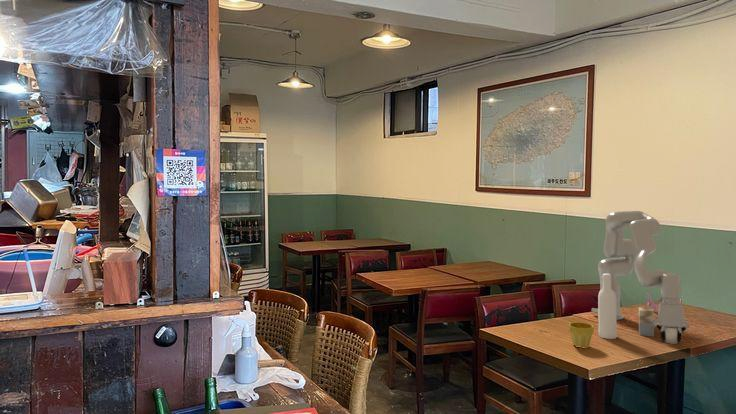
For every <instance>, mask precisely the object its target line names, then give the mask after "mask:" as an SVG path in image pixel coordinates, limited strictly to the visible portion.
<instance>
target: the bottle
mask: <svg viewBox="0 0 736 414" xmlns="http://www.w3.org/2000/svg"><path fill="white" fill-rule="evenodd" d="M602 278H603V289H602V290H599V292H598V297H597V301H598V302H597V304H598V305H597V306H598V307H597V309H598V313H597V317H598V337H599V338H600V339H604V338H605V339H606V340H616V338H617V336H618V335H617V334H618V329H617V325H618V323H617V321H618V320H616V295H615V292H614V291H613V290H612V289H611V274H603V276H602Z"/></svg>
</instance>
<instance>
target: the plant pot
mask: <svg viewBox="0 0 736 414" xmlns="http://www.w3.org/2000/svg"><path fill="white" fill-rule="evenodd" d="M594 327H595V326H594V324H591V323H588V322H583V321H573V322H570V323H569V324H568V332H569V333H570V338H571V342H572V345H573V344H574V345H576V346H580V347H588V346H589V347H590V344H591V340H592V336H593V335H594V329H595V328H594Z"/></svg>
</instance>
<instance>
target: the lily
mask: <svg viewBox="0 0 736 414" xmlns="http://www.w3.org/2000/svg"><path fill="white" fill-rule="evenodd" d="M646 294H647V296H646V295H644V297H645V299H647V305H646V307H648V306H649V307H650V308H653V310H654V312H656V313H658V309H659V306H658V305H657V304H655V303H656V302H655V301H654V300H653V299H652V297H651V295H650V293H648V291H646Z"/></svg>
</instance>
